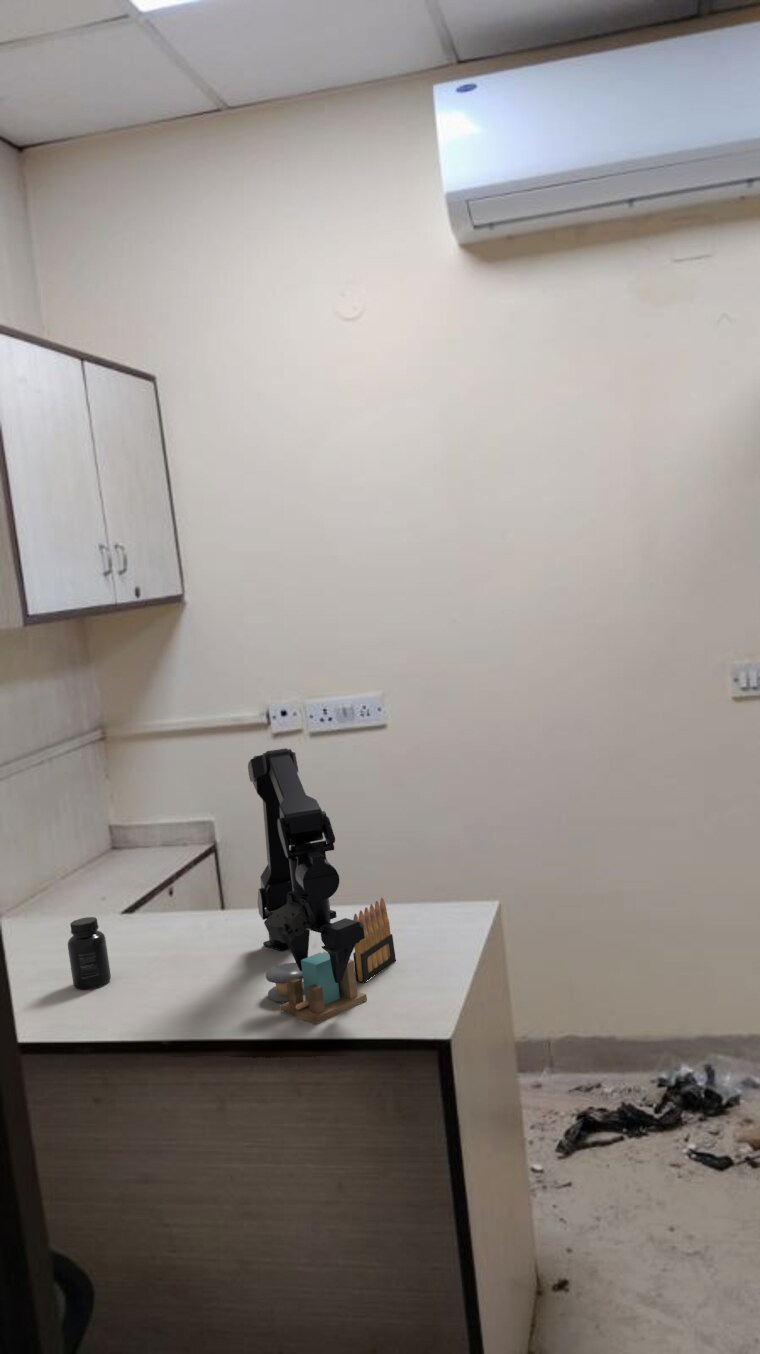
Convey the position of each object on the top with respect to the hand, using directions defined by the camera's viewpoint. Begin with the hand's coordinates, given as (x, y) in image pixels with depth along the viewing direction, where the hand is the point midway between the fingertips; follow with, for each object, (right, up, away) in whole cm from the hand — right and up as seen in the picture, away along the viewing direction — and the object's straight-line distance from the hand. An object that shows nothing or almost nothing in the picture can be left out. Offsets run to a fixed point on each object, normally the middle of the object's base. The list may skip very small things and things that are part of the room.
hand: (320, 976), depth 169 cm
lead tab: (-1, -4, -1) cm, 4 cm away
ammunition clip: (+9, -3, +13) cm, 16 cm away
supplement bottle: (-44, -8, +22) cm, 50 cm away
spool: (-6, -5, +7) cm, 10 cm away
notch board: (+1, -5, 0) cm, 5 cm away
